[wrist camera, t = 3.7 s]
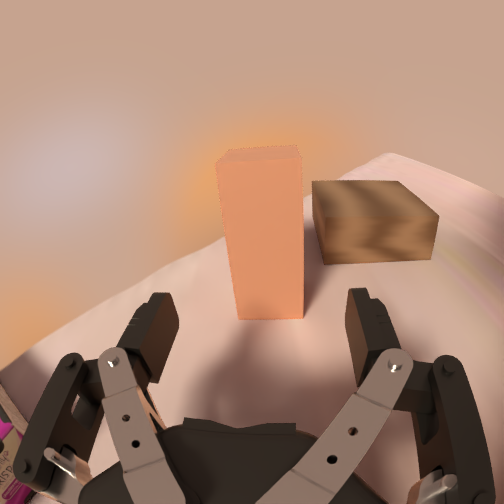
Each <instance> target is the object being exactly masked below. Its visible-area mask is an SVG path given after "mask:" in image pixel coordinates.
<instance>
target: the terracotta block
mask: <svg viewBox="0 0 504 504" xmlns="http://www.w3.org/2000/svg"><path fill="white" fill-rule="evenodd" d="M215 169H216V176H217V183H218V190H219V198H220V204H221V211H222V218H223V225H224V231H225V238H226V245H227V251H228V258H229V264H230V271H231V277H232V283H233V289H234V295H235V301H236V307H237V313H238V319H239V320H261V319H302V318H303V303H304V219H303V184H302V160H301V156H300V153H299V151H298V148H297V146H296V145H292V146H291V145H290V146H271V147H255V148H243V149H231V150H228V151H227V152H226V153H225V154H224V155H223V156H222V157H221V158H220V159H219V160H218V161H217V162H216V163H215Z"/></svg>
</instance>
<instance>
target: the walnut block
mask: <svg viewBox="0 0 504 504" xmlns="http://www.w3.org/2000/svg"><path fill="white" fill-rule="evenodd" d="M312 211H313V220H314V224H315V228H316V232H317V236H318V240H319V244H320V249H321V253H322V257H323V261H324V265H326V264H349V263H371V262H391V261H410V260H429V259H431V255H432V251H433V246H434V242H435V237H436V232H437V226H438V221H439V215H438V214H436V213H435V212H434V211H433V210H432V209H431V208H430V207H429V206H427V205H426V204H425V203H424V202H423V201H422V200H420V199H419V198H418V197H417V196H416V195H415V194H413V193H412V192H411V191H410V190H408V189H407V188H406V187H405V186H404V185H402V184H401V183H400V182H398V181H374V180H336V181H312Z"/></svg>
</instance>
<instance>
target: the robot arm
mask: <svg viewBox="0 0 504 504" xmlns="http://www.w3.org/2000/svg"><path fill="white" fill-rule="evenodd" d="M345 328H346V333H347V337H348V342H349V347H350V352H351V357H352V362H353V367H354V373H355V378H356V384H357V387H360V388H359V389H358V391H357V392H356V393H353V394H352V395H351V397H350V398H349V399H348V401H347V402H346V403H345V405H344V406H343V408H342V409H341V410H340V412H339V413H338V414H337V416H336V417H335V418H334V420H333V421H332V422H331V424H330V425H329V426H328V428H327V429H326V430H325V431H324V433H323V434H322V435H321V436H320V438H317V437H315V436H314V435H311V434H309V433H306V432H303V431H299V430H296V423H266V424H261V425H256V426H251V427H245V428H233V427H229V426H226V425H223V424H220V423H217V422H214V421H211V420H202V419H193V418H185V417H184V421H183V424H181V425H176V426H172V427H169V428H167V427H166V426H165V424H164V422H163V421H162V419H161V417H160V415H159V412H158V410H157V408H156V406H155V403H154V401H153V399H152V397H151V394H150V392H149V390H148V388H147V387H148V384H149V382H151V383H159V380H160V377H161V374H162V372H163V369H164V366H165V364H166V361H167V358H168V355H169V353H170V350H171V348H172V345H173V342H174V340H175V337H176V334H177V332H178V329H179V317H178V314H177V311H176V308H175V305H174V302H173V299H172V296H171V294H170V293H157V292H155V293H153V294H152V296H151V297H150V299H149V301H148V303H143V304H142V305H141V306H140V307H139V308H138V309H137V310H136V312H135V313H134V315H133V317H132V319H131V320H130V322H129V325H128V326H127V327H126V329H125V331H124V333H123V335H122V337H121V338H120V340H119V342H118V344H117V346H116V347H114V348H110V349H108V350H106V351H104V352H103V353H102V354H101V355H100V357H99V359H94V360H86V361H84V359H83V358H82V356H81V355H80V354H78V353H70V354H67V355H66V356H64V357H63V358H62V359H61V360H60V362H59V364H58V365H57V367H56V369H55V371H54V373H53V375H52V377H51V379H50V380H49V382H48V384H47V386H46V388H45V390H44V392H43V394H42V396H41V398H40V400H39V402H38V404H37V407H36V409H35V411H34V413H33V415H32V417H31V420H30V422H29V424H28V426H27V429H26V431H25V433H24V436H23V438H22V441H21V443H20V445H19V448H18V451H17V453H16V456H15V458H14V461H13V473H14V476H15V477H16V479H17V480H18V481H20V482H21V483H23V484H25V485H26V486H28V487H30V488H31V489H33V490H34V491H36V492H38V493H40V494H41V495H43V496H45V497H48V498H50V499H52V500H55V501H58V502H60V503H62V504H389V503H387V502H386V501H385V500H384V499H383V498H382V497H381V496H380V495H378V494H377V493H376V492H375V491H374V490H373V489H372V488H371V487H370V486H369V485H367V484H366V483H365V482H364V481H363V480H362V479H361V478H360V477H359V476H358V475H357V474H356V473H355V472H354V470H355V468H356V467H357V466H358V464H359V463H360V461H361V460H362V458H363V457H364V455H365V454H366V452H367V451H368V449H369V448H370V446H371V445H372V443H373V442H374V440H375V438H376V437H377V435H378V434H379V432H380V430H381V429H382V427H383V425H384V423H385V422H386V420H387V418H388V416H389V415H390V413H391V411H392V410H400V411H408V412H411V415H412V420H413V426H414V433H415V439H416V446H417V454H418V462H419V471H420V480H419V481H418V482H416V483H415V484H414V485H413V486H412V487H411V489H410V491H409V493H408V498H407V503H406V504H495V499H496V495H495V487H494V480H493V473H492V467H491V462H490V457H489V452H488V447H487V443H486V438H485V434H484V430H483V427H482V423H481V419H480V416H479V412H478V409H477V406H476V402H475V399H474V396H473V393H472V390H471V387H470V384H469V381H468V378H467V376H466V373H465V370H464V368H463V365H462V363H461V362H460V361H459V360H458V359H457V358H455V357H453V356H450V355H442V356H440V357H438V358H437V359H436V360H435V361H434V363H426V362H419V361H415V360H412V358H411V356H410V355H409V354H408V353H407V352H405V351H404V350H402V349H401V347H400V344H399V341H398V338H397V336H396V333H395V330H394V328H393V325H392V323H391V320H390V317H389V316H388V312H387V309H386V307H385V305H384V304H383V303H382V302H381V301H380V300H379V299H378V298H375V299H370V296H369V294H368V291H367V289H366V288H351V289H349V291H348V298H347V305H346V313H345ZM77 394H78V395H79V397H80V398H79V400H78V402H77V405H76V407H75V410H74V412H73V414H71V408H72V405H73V403H74V401H75V399H76V396H77ZM104 413H105V416H106V419H107V423H108V426H109V430H110V433H111V436H112V439H113V442H114V445H115V448H116V451H117V454H118V457H119V459H120V461H118V462H117V463H116V464H114V465H113V466H111V467H110V468H108V469H107V470H105V471H104V472H102V473H101V474H99V475H98V476H96V477H95V478H93V477H92V475H91V474H90V468H89V466H88V461H89V458H90V455H91V451H92V448H93V445H94V442H95V439H96V436H97V433H98V430H99V427H100V424H101V421H102V419H103V416H104Z"/></svg>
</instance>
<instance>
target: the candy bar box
mask: <svg viewBox="0 0 504 504" xmlns="http://www.w3.org/2000/svg"><path fill="white" fill-rule="evenodd" d="M27 426H28V422H27V421H26V420H25V419H24V417H23V416H22V415H21V413H20V412H19V411H18V409H17V408H16V406H15V405H14V403H13V402H12V401H11V399H10V398H9V396H8V395H7V393H6V392H5V390H4V389H3V387H2V385H1V384H0V504H25V503H26V502H27V501H28V499H29V498H30V497H31V496H32V494H33V493H34V492H35V491H34V490H33V489H31V488H30V487H28V486H26V485H25V484H23V483H21V482H20V481H18V480H17V479H16V477H15V476H14V473H13V461H14V458H15V456H16V453H17V451H18V448H19V445H20V443H21V441H22V438H23V436H24V433H25V431H26V429H27Z"/></svg>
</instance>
